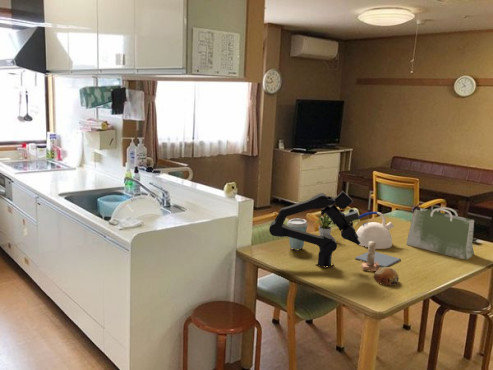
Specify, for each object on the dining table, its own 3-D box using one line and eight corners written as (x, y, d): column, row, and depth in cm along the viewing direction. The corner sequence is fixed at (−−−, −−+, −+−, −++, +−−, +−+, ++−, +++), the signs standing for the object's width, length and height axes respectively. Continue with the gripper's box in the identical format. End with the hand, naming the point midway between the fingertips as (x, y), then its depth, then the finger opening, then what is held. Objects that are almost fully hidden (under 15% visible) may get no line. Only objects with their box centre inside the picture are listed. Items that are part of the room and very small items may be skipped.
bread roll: (394, 286, 196) (393, 268, 198) (403, 285, 186) (401, 266, 188) (372, 286, 195) (371, 267, 197) (379, 285, 185) (378, 265, 187)
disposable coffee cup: (299, 253, 223) (301, 224, 221) (281, 248, 230) (283, 220, 227) (309, 248, 232) (311, 220, 229) (292, 243, 238) (293, 216, 235)
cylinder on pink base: (362, 270, 203) (365, 243, 201) (361, 266, 208) (363, 240, 205) (378, 272, 202) (381, 244, 199) (377, 268, 207) (379, 241, 204)
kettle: (397, 250, 235) (401, 217, 231) (358, 248, 235) (361, 215, 232) (386, 238, 255) (389, 208, 251) (350, 237, 255) (352, 206, 252)
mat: (385, 268, 207) (385, 266, 207) (354, 258, 218) (355, 257, 218) (400, 260, 218) (400, 258, 218) (371, 252, 229) (371, 250, 229)
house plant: (316, 242, 241) (318, 213, 238) (306, 235, 254) (308, 207, 251) (340, 241, 245) (342, 212, 242) (328, 234, 258) (331, 207, 255)
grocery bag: (474, 254, 233) (480, 211, 229) (466, 260, 223) (472, 215, 219) (414, 239, 254) (419, 200, 250) (405, 245, 244) (409, 204, 240)
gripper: (351, 209, 192) (375, 236, 193) (348, 200, 210) (370, 224, 211) (331, 225, 195) (355, 251, 195) (330, 215, 213) (352, 239, 213)
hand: (358, 241), depth 203 cm, fingers open, 9 cm apart
